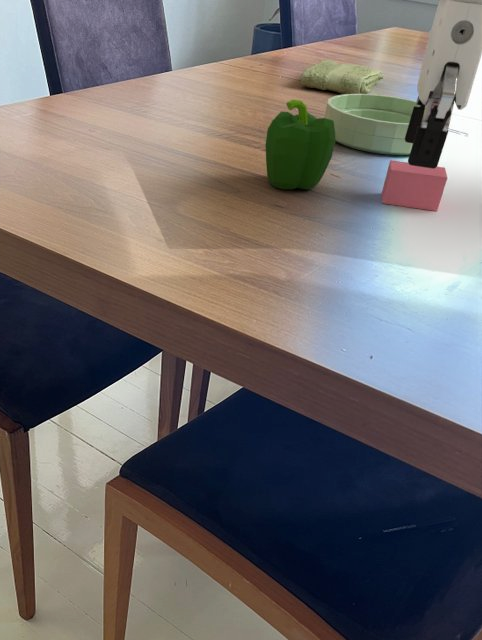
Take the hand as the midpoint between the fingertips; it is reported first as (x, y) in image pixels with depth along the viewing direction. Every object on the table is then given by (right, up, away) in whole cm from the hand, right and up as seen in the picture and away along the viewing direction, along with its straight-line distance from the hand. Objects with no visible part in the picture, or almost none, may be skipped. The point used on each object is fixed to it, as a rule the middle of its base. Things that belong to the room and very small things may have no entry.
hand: (419, 154), depth 86 cm
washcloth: (+5, +35, +54) cm, 64 cm away
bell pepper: (-14, -2, +6) cm, 15 cm away
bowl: (+3, +12, +25) cm, 28 cm away
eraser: (0, -4, +4) cm, 6 cm away
